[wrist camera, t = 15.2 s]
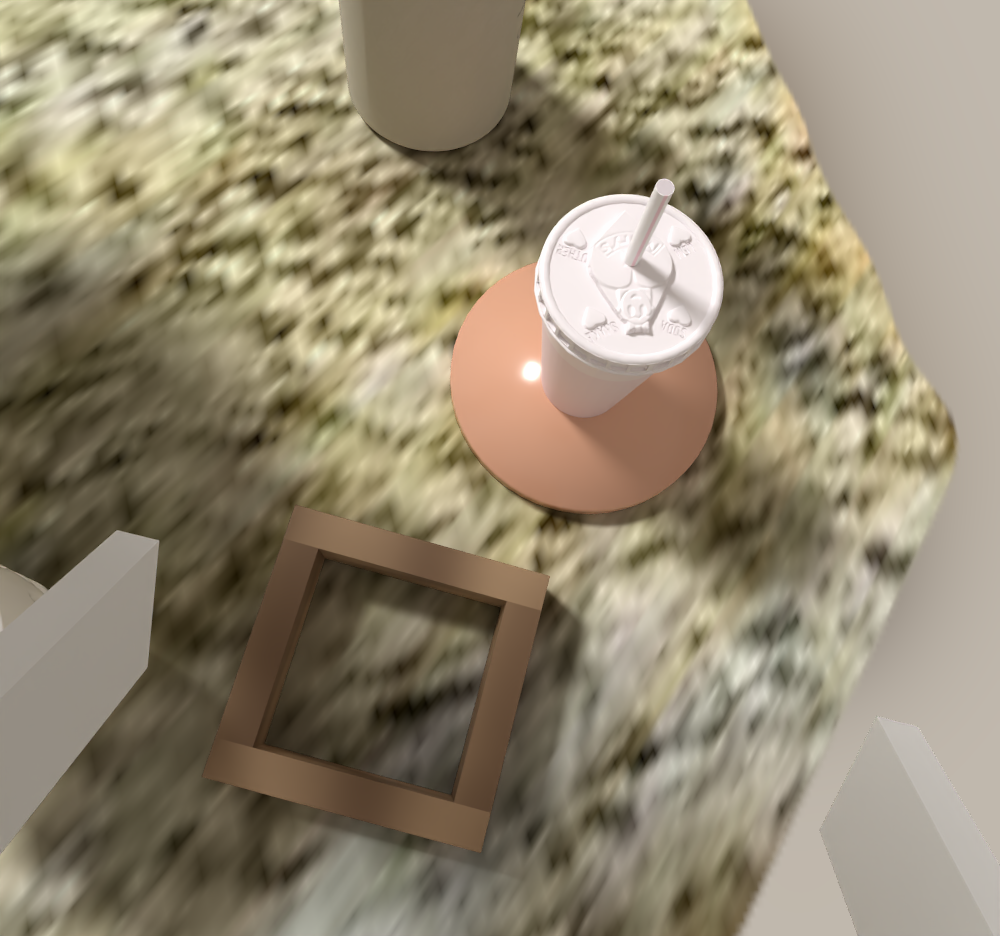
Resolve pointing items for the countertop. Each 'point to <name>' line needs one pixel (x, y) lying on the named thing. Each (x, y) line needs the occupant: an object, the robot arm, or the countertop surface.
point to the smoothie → (622, 297)
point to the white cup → (16, 595)
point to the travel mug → (431, 67)
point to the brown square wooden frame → (273, 647)
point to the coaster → (561, 437)
